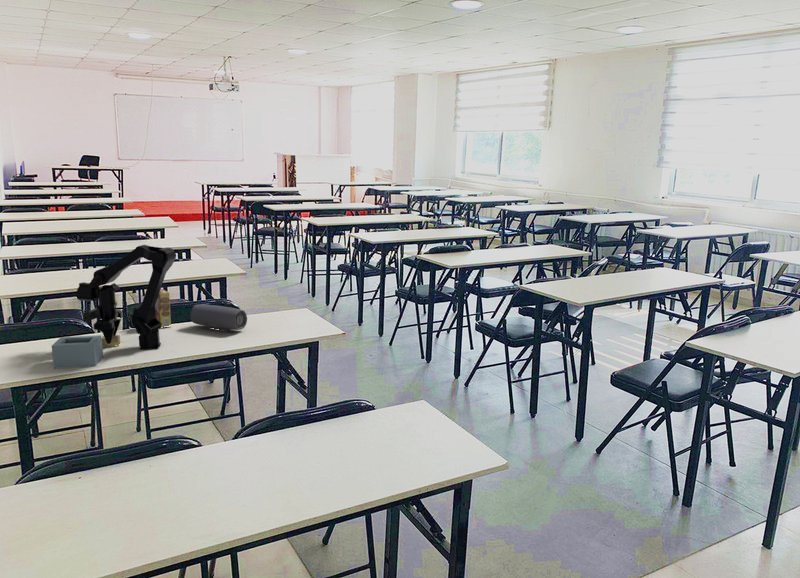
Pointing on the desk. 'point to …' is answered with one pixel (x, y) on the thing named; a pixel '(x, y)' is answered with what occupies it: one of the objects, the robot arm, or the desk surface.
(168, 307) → the candy box
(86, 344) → the blue-grey open box
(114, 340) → the tan rectangular block
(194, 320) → the bluetooth speaker
